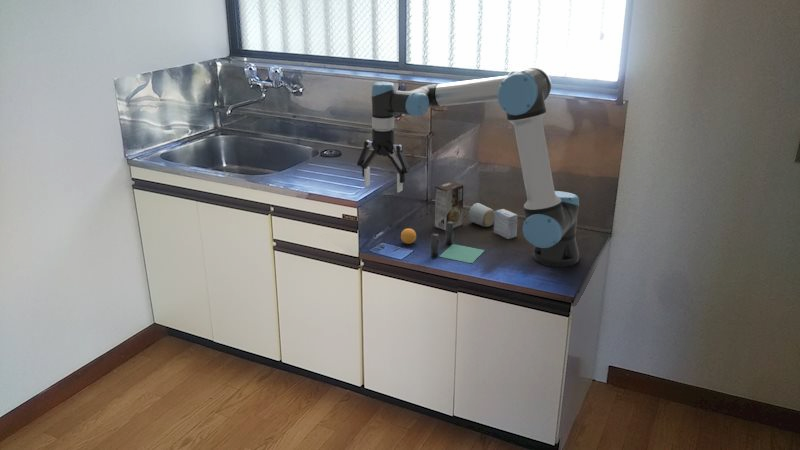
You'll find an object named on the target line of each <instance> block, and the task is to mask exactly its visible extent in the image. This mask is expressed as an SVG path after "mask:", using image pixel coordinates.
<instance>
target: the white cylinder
mask: <svg viewBox="0 0 800 450" xmlns="http://www.w3.org/2000/svg"><path fill="white" fill-rule="evenodd" d="M494 215H495V211H494V210H493V209H492V208H490V207H488V206H486V205H484V204H482V203H480V202H477V203H474V204H473V205H471V207H470V209H469V212H468V219H469V222H471V223H474V224H476V225H479V226H481V227H486V228H488V227H491V226H493V225H494Z"/></svg>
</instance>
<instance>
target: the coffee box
mask: <svg viewBox="0 0 800 450" xmlns="http://www.w3.org/2000/svg"><path fill="white" fill-rule="evenodd" d="M434 191H435V192H434V193H435V198H434V199H435V200H434V202H435V203H434V206H435V207H434V227H436V228H437V229H441V230H443V231H446V222H447V221H452V222H453V229H454V228H457V227H461V226H462V225H463V222H464V221H463V220H464V219H463V218H464V215H463V213H464V212H463V211H464V184H461V183H459V182H456V181H453V180H451V181H448V182H445V183H442V184H438V185H436V186H435V190H434Z"/></svg>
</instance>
